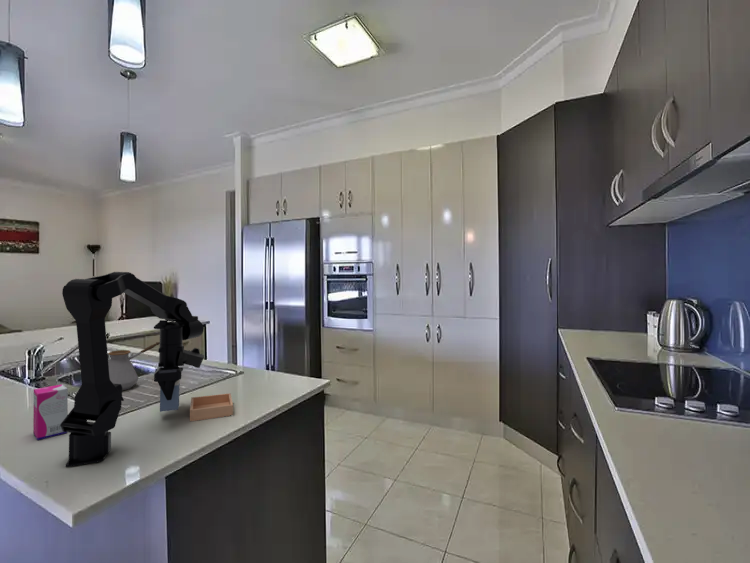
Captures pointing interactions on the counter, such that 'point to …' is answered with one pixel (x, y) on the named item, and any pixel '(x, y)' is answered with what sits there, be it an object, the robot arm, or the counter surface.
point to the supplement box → (49, 411)
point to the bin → (211, 407)
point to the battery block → (170, 404)
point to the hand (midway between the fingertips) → (169, 397)
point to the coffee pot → (124, 367)
